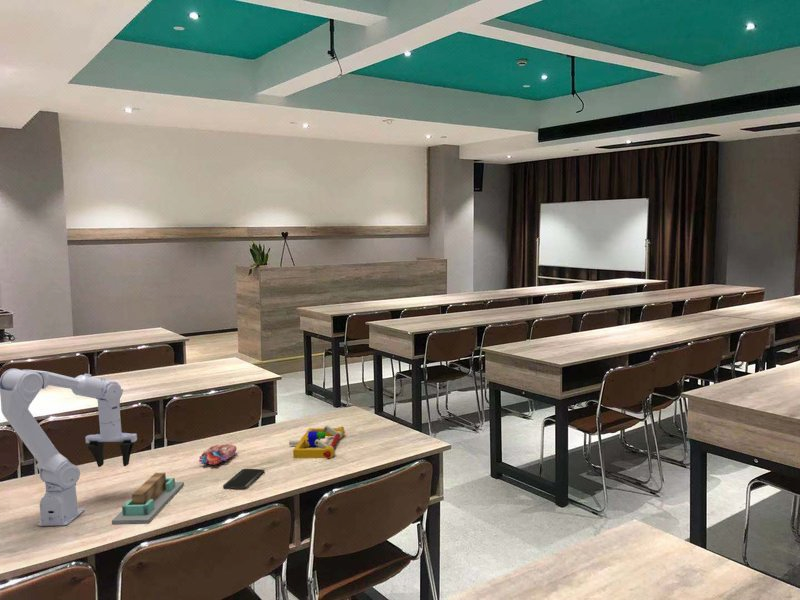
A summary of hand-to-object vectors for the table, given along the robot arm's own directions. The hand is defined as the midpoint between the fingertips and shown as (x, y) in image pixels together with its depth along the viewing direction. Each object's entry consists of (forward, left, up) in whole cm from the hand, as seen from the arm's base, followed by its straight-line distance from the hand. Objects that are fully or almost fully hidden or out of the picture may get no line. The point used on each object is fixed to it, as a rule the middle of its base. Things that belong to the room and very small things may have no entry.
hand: (113, 465), depth 185 cm
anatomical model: (+28, -22, -10) cm, 37 cm away
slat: (-6, -13, -8) cm, 17 cm away
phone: (+10, -36, -10) cm, 39 cm away
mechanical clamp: (+42, -54, -10) cm, 69 cm away
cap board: (-6, -13, -9) cm, 17 cm away
